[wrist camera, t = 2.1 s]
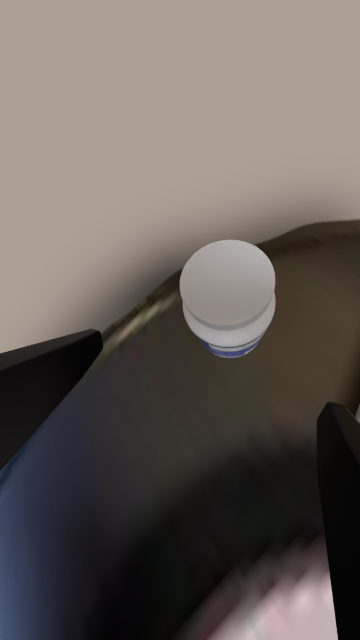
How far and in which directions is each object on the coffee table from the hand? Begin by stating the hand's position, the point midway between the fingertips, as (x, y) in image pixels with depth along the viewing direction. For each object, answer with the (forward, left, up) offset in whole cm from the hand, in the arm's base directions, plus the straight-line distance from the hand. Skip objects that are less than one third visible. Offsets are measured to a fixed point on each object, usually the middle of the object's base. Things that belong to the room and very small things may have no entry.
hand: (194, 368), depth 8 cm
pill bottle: (+4, +1, -11) cm, 12 cm away
